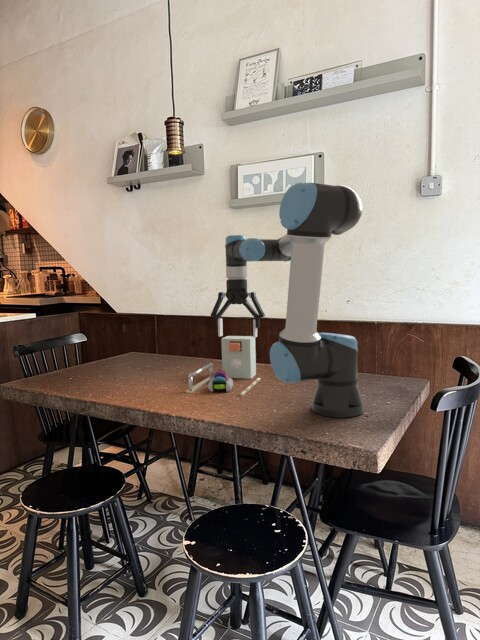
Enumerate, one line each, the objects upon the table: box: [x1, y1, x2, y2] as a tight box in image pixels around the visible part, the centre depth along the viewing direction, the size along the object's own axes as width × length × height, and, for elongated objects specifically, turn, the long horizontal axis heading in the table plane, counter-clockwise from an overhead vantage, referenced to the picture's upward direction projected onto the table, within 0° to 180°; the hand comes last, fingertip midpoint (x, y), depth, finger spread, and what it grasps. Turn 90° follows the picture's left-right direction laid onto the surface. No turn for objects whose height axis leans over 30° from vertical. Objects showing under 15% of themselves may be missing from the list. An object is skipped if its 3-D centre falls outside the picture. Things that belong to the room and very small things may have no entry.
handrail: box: [185, 362, 214, 394], centre depth 168 cm, size 25×2×6 cm, turn 163°
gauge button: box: [229, 342, 241, 351], centre depth 175 cm, size 3×4×3 cm
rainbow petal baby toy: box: [207, 369, 234, 393], centre depth 159 cm, size 8×10×7 cm
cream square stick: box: [239, 377, 262, 397], centre depth 163 cm, size 25×1×1 cm, turn 163°
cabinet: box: [220, 335, 257, 380], centre depth 180 cm, size 8×12×16 cm
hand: (237, 336), depth 162 cm, fingers open, 13 cm apart
